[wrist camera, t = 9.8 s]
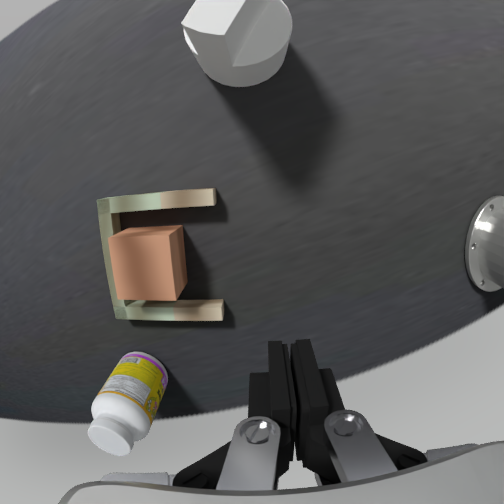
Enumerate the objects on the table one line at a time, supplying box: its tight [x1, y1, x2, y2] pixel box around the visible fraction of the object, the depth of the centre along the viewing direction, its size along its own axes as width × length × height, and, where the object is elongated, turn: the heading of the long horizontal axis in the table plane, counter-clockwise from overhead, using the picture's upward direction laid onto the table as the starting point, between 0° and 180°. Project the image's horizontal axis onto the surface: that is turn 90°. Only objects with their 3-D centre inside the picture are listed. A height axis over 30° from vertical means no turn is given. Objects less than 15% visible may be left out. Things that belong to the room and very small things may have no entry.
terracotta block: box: [108, 225, 188, 301], centre depth 28 cm, size 6×6×5 cm
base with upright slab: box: [181, 0, 292, 87], centre depth 19 cm, size 9×9×12 cm
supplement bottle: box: [88, 352, 168, 456], centre depth 28 cm, size 7×7×13 cm
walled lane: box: [97, 188, 224, 321], centre depth 29 cm, size 12×13×2 cm
